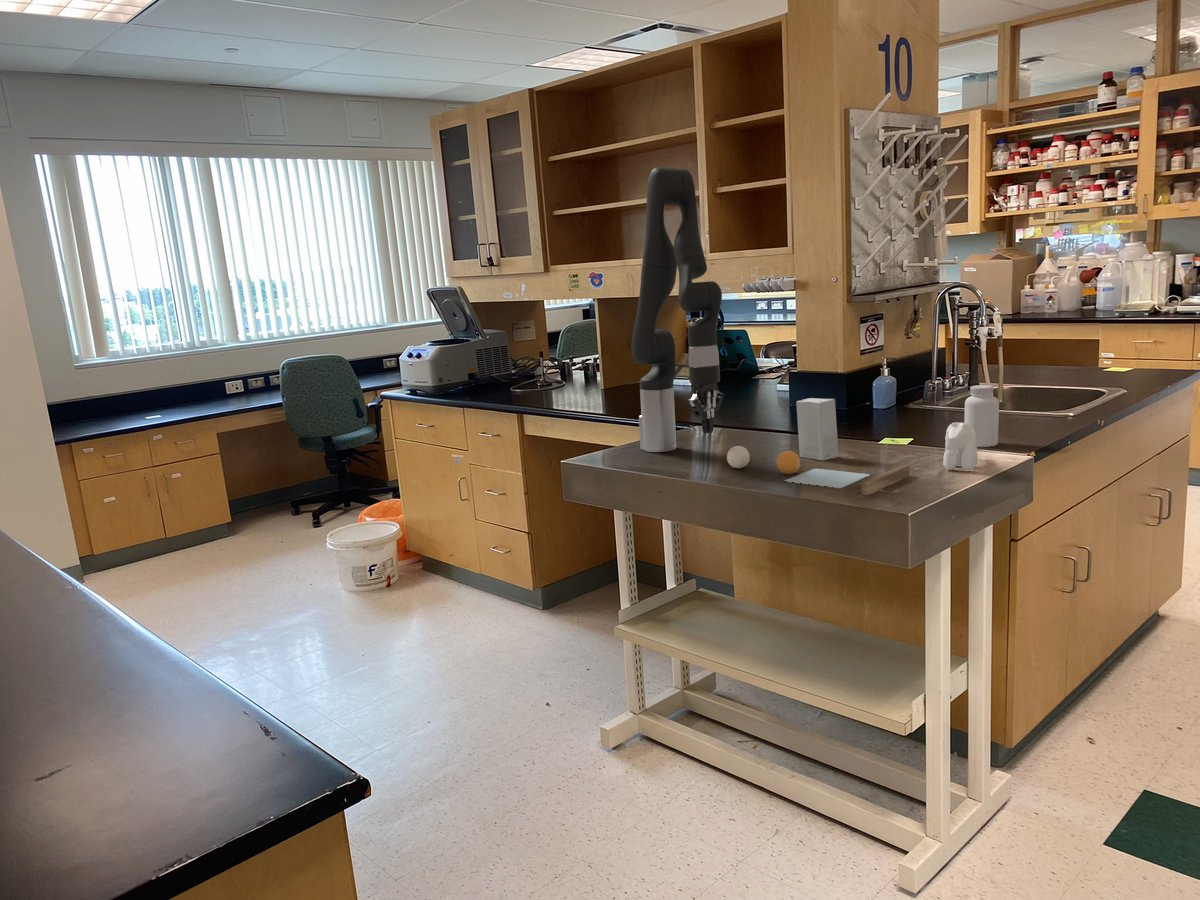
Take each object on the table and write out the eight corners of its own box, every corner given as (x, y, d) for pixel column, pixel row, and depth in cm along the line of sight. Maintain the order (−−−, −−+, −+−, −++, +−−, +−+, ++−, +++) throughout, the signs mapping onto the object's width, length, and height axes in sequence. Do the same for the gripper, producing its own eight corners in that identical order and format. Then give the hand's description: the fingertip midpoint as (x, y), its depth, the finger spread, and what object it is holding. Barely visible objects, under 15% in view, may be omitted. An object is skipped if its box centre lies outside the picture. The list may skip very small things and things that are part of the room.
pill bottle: (964, 447, 220) (965, 388, 217) (964, 441, 227) (964, 384, 224) (998, 448, 217) (1000, 388, 214) (997, 441, 224) (998, 383, 221)
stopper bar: (861, 495, 181) (861, 483, 181) (902, 475, 196) (902, 464, 195) (868, 495, 180) (868, 484, 180) (909, 476, 195) (909, 465, 194)
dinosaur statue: (933, 474, 191) (935, 424, 190) (960, 462, 211) (961, 417, 210) (966, 476, 187) (968, 425, 186) (990, 464, 207) (992, 418, 206)
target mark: (784, 481, 197) (784, 480, 197) (815, 469, 207) (815, 468, 207) (840, 488, 188) (840, 487, 188) (870, 475, 198) (870, 474, 198)
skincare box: (838, 457, 218) (838, 399, 215) (822, 461, 215) (821, 402, 212) (813, 453, 225) (812, 396, 222) (796, 457, 222) (795, 399, 219)
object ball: (772, 475, 204) (771, 452, 203) (784, 470, 208) (784, 447, 207) (792, 477, 200) (792, 454, 199) (805, 472, 204) (804, 449, 203)
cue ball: (722, 469, 214) (722, 447, 213) (735, 464, 217) (734, 443, 216) (741, 471, 210) (741, 449, 209) (754, 466, 214) (753, 445, 213)
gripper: (707, 361, 223) (710, 428, 226) (675, 367, 213) (680, 436, 216) (731, 360, 218) (735, 429, 221) (700, 366, 208) (704, 438, 211)
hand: (707, 432), depth 218 cm, fingers closed
